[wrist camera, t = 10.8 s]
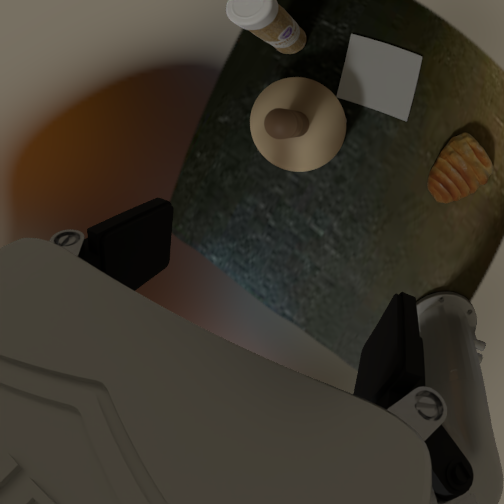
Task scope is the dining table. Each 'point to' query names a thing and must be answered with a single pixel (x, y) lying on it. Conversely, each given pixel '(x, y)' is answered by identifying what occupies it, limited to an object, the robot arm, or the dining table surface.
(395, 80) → the mat
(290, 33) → the sprinkles bottle
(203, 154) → the dining table surface
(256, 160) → the dining table surface
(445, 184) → the pastry
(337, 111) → the lid
